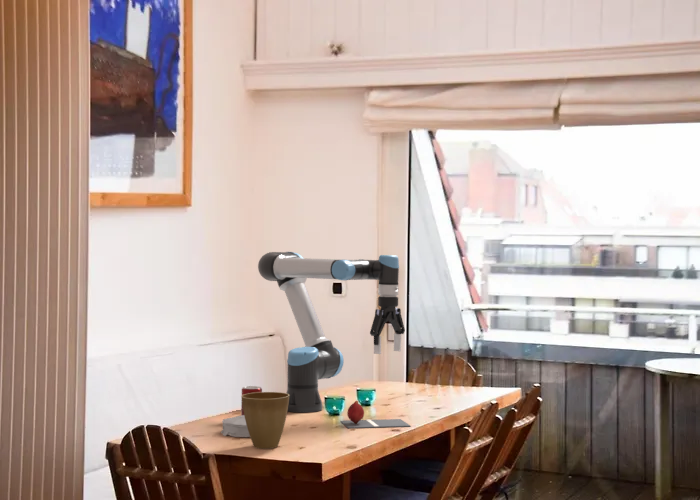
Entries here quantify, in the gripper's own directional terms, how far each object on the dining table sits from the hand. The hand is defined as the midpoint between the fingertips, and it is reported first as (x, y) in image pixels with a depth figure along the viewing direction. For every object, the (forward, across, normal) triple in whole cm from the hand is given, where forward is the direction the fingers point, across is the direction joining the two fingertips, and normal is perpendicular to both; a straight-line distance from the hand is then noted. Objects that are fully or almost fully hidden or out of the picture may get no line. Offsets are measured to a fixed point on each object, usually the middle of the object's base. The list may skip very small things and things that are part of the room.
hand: (387, 352), depth 377 cm
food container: (+23, -63, +13) cm, 68 cm away
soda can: (+23, -46, +27) cm, 58 cm away
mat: (+23, -24, -11) cm, 34 cm away
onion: (+22, -29, -6) cm, 37 cm away
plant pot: (+23, -78, -7) cm, 82 cm away
